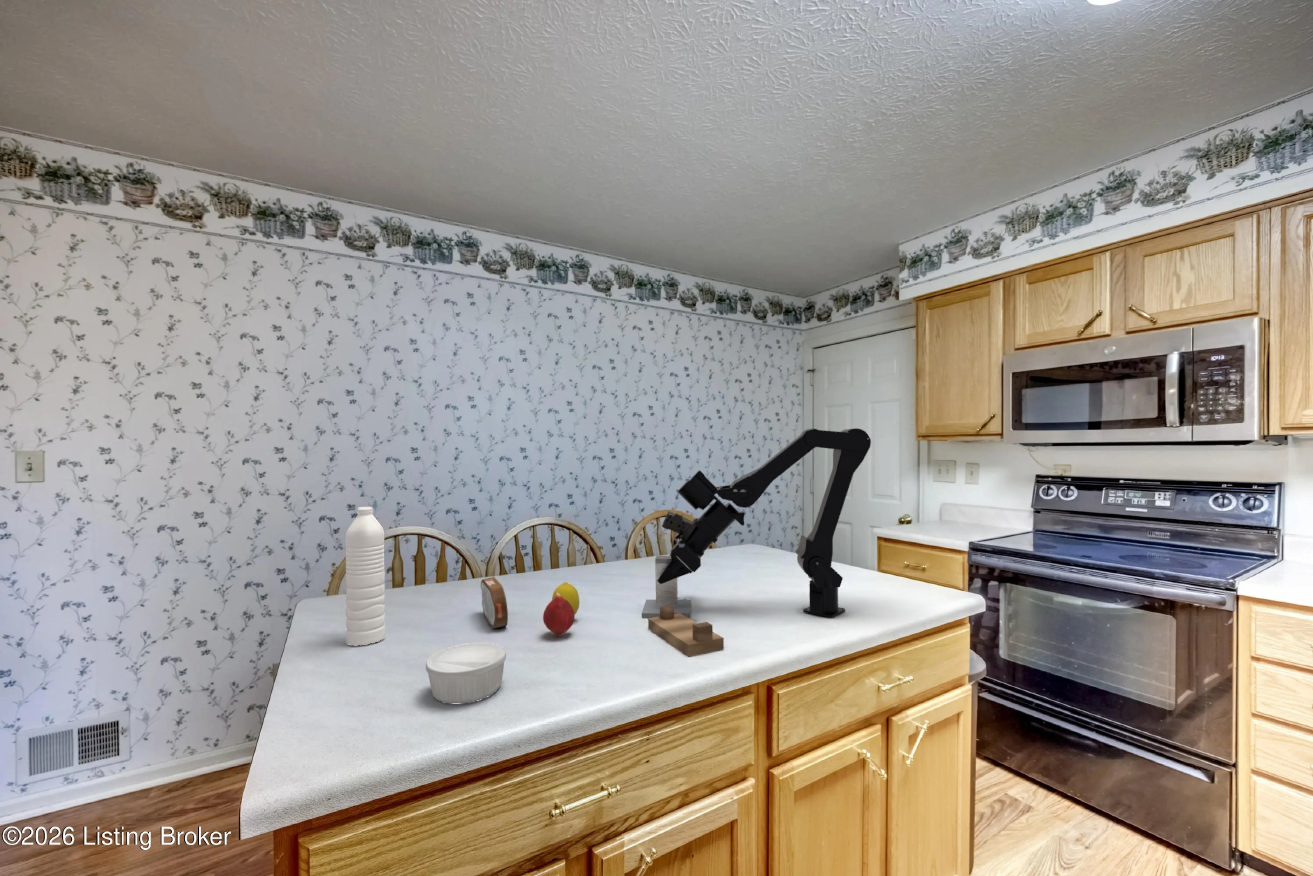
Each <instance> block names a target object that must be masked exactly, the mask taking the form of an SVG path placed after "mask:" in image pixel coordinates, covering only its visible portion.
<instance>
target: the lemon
mask: <svg viewBox="0 0 1313 876" xmlns="http://www.w3.org/2000/svg"><path fill="white" fill-rule="evenodd" d="M556 593H559V594H560V596H562V597H563V598H564V599H566V600H567V601H568V602H569V603H570V605H571V606H572V607H573V609H574V614H575V615H576V614H578V613H577V612H579V611H578V610H579V608H580V596H579V592H578V589H577V588H576V587H575V586H574V585H573V584H570V583H569V582H568V581H564V582H563V583H562V584H560V585H558V586H557V587H555V589H554V592H553V593H552V597H551V601H552V600H553V599H555V596H556Z"/></svg>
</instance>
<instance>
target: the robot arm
mask: <svg viewBox="0 0 1313 876" xmlns="http://www.w3.org/2000/svg"><path fill="white" fill-rule="evenodd" d="M871 443H872V440H871V438H870V435H869V434H868V433H867V432H866V431H865V430H864V429H862V428H857V427H856V428H855V427H854V428H847V429H843V430H841V431H834V430H825V429H824V430H823V429H822V430H821V429H818V428H806V429H804V430H803V431H802V432H801V434H800V435H799V436H797V437H796V438H795V439H793V440H792V441H791V442H790V443H788V445H786V446H785V447H784V448H782V449H781V450H780V451H779V452H777V453H776V454H775V455H774V456H773V457H771V458H770V459H768V461H766V462H765V463H764V464H762V465H761V466H760V467H758V468H757V469H754V470H752V471H750V472H748V473H746V474H744V475H742V476H741V477H739V478H737V479H735V480H734V481H732V482H731V483H730V484H728V485H727V484H726V485H720V486H716V485H714V483H713V482H712V481H710V479H708V477H707V476H706V475H705V473H704V472H703V471H701V470H698V471H696V473H695V474H693V476H691V478H688V479H687V480H686V482H684V483H683V485H681V486H680V488H679V489H678V490H677V491H676V493H678V494H679V495H680V496H681V497H682V498H683V499H684V500H685V501H686V502H687V503H688V504H689V505H690V506H691V507H692V508H693V509H694V510H695V511H697V510H698V509H699V510H702V511H704V510H705V509H706V508H707V507H708V506H709V505H710V504H711V503H712V504H711V506H710V507H708V508H707V509H706V511H704V512H703V513H702V514H701V516H700V517H697V518H696V517H695V518H694V519H693V521H692V520H689V519H688V518H685V517H683V515H682V514H681V515H680V514H678V513H677V512H676V513H674V512H672V511H667V514H666V515H665V518H664V520H663V521H662V524H661V527H662V528H663V529H666V530H669V531H672V532H673V533H676V534H675V536H674V538H673V539H672V540H673V543H672V545H673V547H672V548H671V550H670V553H669V555H668V556H671V561H670V562H669V564H668V565H667V567H666V568H665V570H664V571H663V572H662V574H661V575H660V577H659V578H658V580H657V581H658V582H659V583H660V584H663V583H665V582H668V581H670V580H673V579H675V578H680V577H682V576H686V575H688V574H692V573H695V572H697V570H698V569H699V568H701V566H702V562H701V560H702V557H703V556H704V555H705V552H706V550H707V549H709V547H710V546H711V545H712V544H713V543H714V544H715V543H716V542H718V540H719V539H718V538H720V536H721V535H722V534H723V533H724V532H725V531H726V530H727V529H728V528H729V527H730V526H731V525H732V524H733V523H734V522H735V521H736V522H737V523H738V524H739V525H740V526H742V527H743V526H745V516H746V512H745V511H738V510H737V508H736V507H739V508H744V509H745V508H746V509H747V508H749V507H752V506H753V505H754V504H755V503H756V502H757V501H758V500H759V499H760V497H762V496H763V494H764V493H765V491H766V490H767V489H768V488H769V486H770V485H771V484H772V483H773V481H775V480H776V479H777V478H778V477H780V476H781V475H783V474H784V473H785V472H786V471H787V470H788V469H790V468H791V467H792V466H794V464H796V463H797V462H798V461H800V460H801V459H802V458H804V457H805V456H806V455H807V454H808V453H810V452H811V451H812V450H814V449H816V448H820V449H821V448H822V449H830V450H833V451H832V452H833V453H832V470H831V473H830V476H829V479H828V482H827V484H826V488H825V491H824V495H823V497H822V500H821V504H820V505H819V506H820V507H819V509H818V512H817V514H816V515H817V516H816V518H815V522H814V526H813V529H812V530H811V532H810V533H809V535H807V537H806V536H805V535H803V534H801V535H800V538H799V545H798V546H797V548H796V550H795V554H797V556H796V557H797V558H796V559H797V563H798V566H799V567H800V569H802V571H803V572H804V573H805V575H807V577H808V578H809V584H808V587H809V591H808V592H809V595H808V597H809V598H808V599H809V606H807V607H805V608H803V612H804V613H808V614H812V615H817V616H821V617H826V618H829V619H831V618H834V617H836V616H837V615H840V614H842V613H844V612H845V611H846V609H845V608H844V607H840V606H839V588H840V587H841V585H842V581H843V576H841V574H839V572H837V571H836V570H835V569H834V567H832V562H833V557H834V556H833V554H834V551H833V549H834V547H833V546H834V536H835V532H836V529H837V526H838V524H839V520H840V516H841V514H842V510H843V508H844V503H845V502H846V498H847V496H848V492H849V489H850V485H851V483H852V480H853V477H854V474H855V472H856V471H857V470H858V468H859V467H860V465H861V464H862V463H863V461H864V459H865V458H866V456H867V454H868V452H869V450H870V448H871ZM716 494H717V496H718V497H720V499H722V500H724V501H725V500H726V501H730V502H732V503H733V504H734V505H735V506H736V507H734V506H733V505H732V504H731V503H730V502H728V503H726V504H725V503H724V502H722V501H721V500H720V499H719V498H718V497H717V496H716ZM714 500H715V501H714ZM713 501H714V503H713Z"/></svg>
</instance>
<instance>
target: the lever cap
mask: <svg viewBox="0 0 1313 876" xmlns="http://www.w3.org/2000/svg"><path fill="white" fill-rule="evenodd" d="M654 559H655V560H654V563H655V574H654V575H655V600H656V608H660V606H663V605H671V606H674V609H677V607H678V600H679V594H678V593H679V591H678V588H679V585H678V584H679V583H678V581H679V580H678V578H679V577H678V578H675V579H673V580H670V581H668V582H665V583H663V584H660V583H659V582H658V581H657V580H658V578H659V577H660V575H661V574H662V572H663V571H664V570H665V568H666V567H667V565H668V564H669V562H670V561H671V556H669V555H656V556H655V558H654Z"/></svg>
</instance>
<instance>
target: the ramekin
mask: <svg viewBox="0 0 1313 876" xmlns="http://www.w3.org/2000/svg"><path fill="white" fill-rule="evenodd" d="M506 659H507V650H506V648H505V647H503V646H502V645H500V644H497V643H492V642H483V641H480V642H465V643H460V644H456V645H452V646H448V647H446V648H443V649H441V650H437V652H435V653H433V654H432V655H431V656H429V657H428V658H427V660H426V662H425V671H426V672H427V674H428V679H429V684H430V689H431V692H432V696H433V698H435V699H436V700H437V701H438V700H439V701H438V702H440V701H441V702H440V703H442V702H445V703H468V704H470V703H469V702H473V701H477V700H480V699H483V698H485V699H487V698H486V697H487V696H489V697H491V696H492V695H494V694H495V693H496V692H497V691H498V690H499V688H500V686H501V685H502V682H503V675H504V667H505V661H506ZM497 689H498V690H497ZM494 692H495V693H494ZM493 693H494V694H493ZM491 694H492V695H491ZM490 695H491V696H490ZM483 700H484V699H483ZM480 701H481V700H480ZM477 702H478V701H477ZM445 703H444V704H445ZM473 703H474V702H473Z"/></svg>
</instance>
